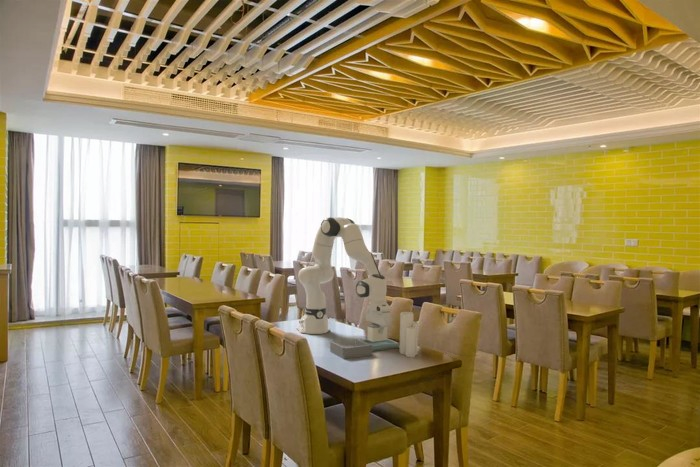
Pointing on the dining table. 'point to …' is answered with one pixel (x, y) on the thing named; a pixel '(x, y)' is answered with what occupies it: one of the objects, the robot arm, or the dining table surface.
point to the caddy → (376, 333)
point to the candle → (408, 334)
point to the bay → (351, 349)
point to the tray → (382, 344)
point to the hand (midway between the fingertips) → (377, 332)
